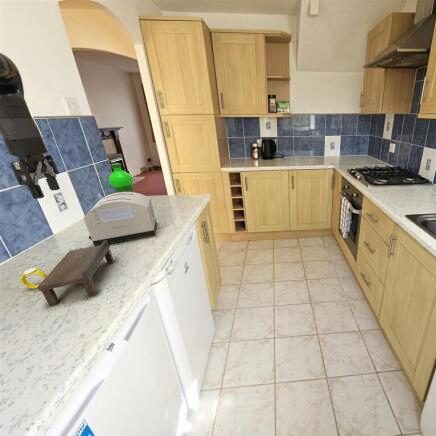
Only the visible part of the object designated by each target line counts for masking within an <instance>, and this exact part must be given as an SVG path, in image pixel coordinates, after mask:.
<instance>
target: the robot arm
mask: <svg viewBox="0 0 436 436" xmlns="http://www.w3.org/2000/svg"><path fill="white" fill-rule="evenodd" d="M30 109H31V108H30V106H29V104H28V102H27V101H26V94H25V88H24V83H23V78H22V75H21V73H20V70H19V68H18V67H17V65H16V63H14V61H13V60H12V59H11V58H10V57H9V56H7V55H6V54H5V53H2V52H0V137H1V138H2V141H3V143H4V144H5V147H6V149H7V152H8V153H9V156H12V157H17V159H18V161H13V162H11V161H10V164H9V165H10V167H11V169H12V171H13V174H14V176H15V178H16V181H17V183H18V185H19V186H25V187H27V188H28V190H29V192H30V194H31V196H32V198H33V199H34V200H39V199H43V198H45V194H44V192H43V190H42V188H41V185H40V184H39V179H40V178H41V175H42V176H43V177H44V179H45V181H46V184H47V186H48V189H49V190H50V191H59V190H60V189H61V186H60V185H59V183H58V180H57V175H59V173H60V172H59V170H58V167H57V165H56V163H55V160H54V158H53V155H51V154H47V153H49V150H48V147H47V144H46V143H45V140H44V137H43V134H42V133H41V130H40V128H39V126H38V124H37V122H36V121H35V119H34V116H33V115H32V112H31V110H30Z"/></svg>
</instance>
